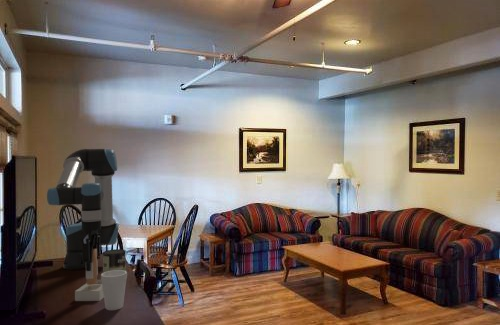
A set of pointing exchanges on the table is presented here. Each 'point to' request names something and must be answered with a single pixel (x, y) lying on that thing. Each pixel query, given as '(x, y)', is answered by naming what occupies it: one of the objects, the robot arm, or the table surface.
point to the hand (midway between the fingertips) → (91, 276)
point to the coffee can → (114, 260)
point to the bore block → (90, 292)
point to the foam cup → (114, 288)
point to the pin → (94, 260)
